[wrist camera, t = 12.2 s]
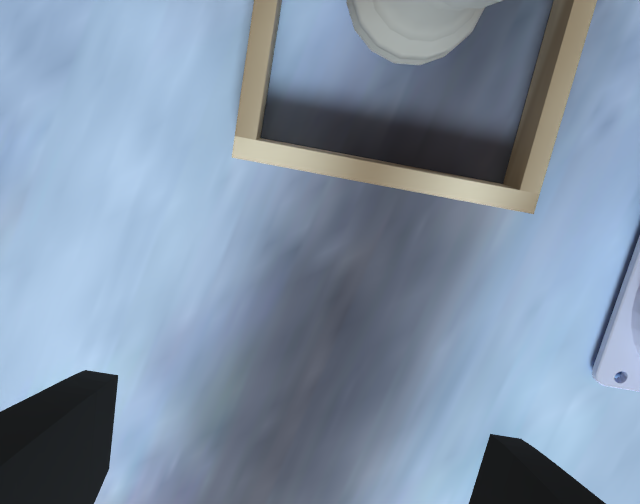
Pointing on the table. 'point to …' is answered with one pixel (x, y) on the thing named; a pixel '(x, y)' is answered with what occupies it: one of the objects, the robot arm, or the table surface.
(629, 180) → the table surface
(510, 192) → the beige square frame
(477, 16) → the rook chess piece
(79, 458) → the robot arm
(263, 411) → the table surface
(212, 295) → the table surface
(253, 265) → the table surface
